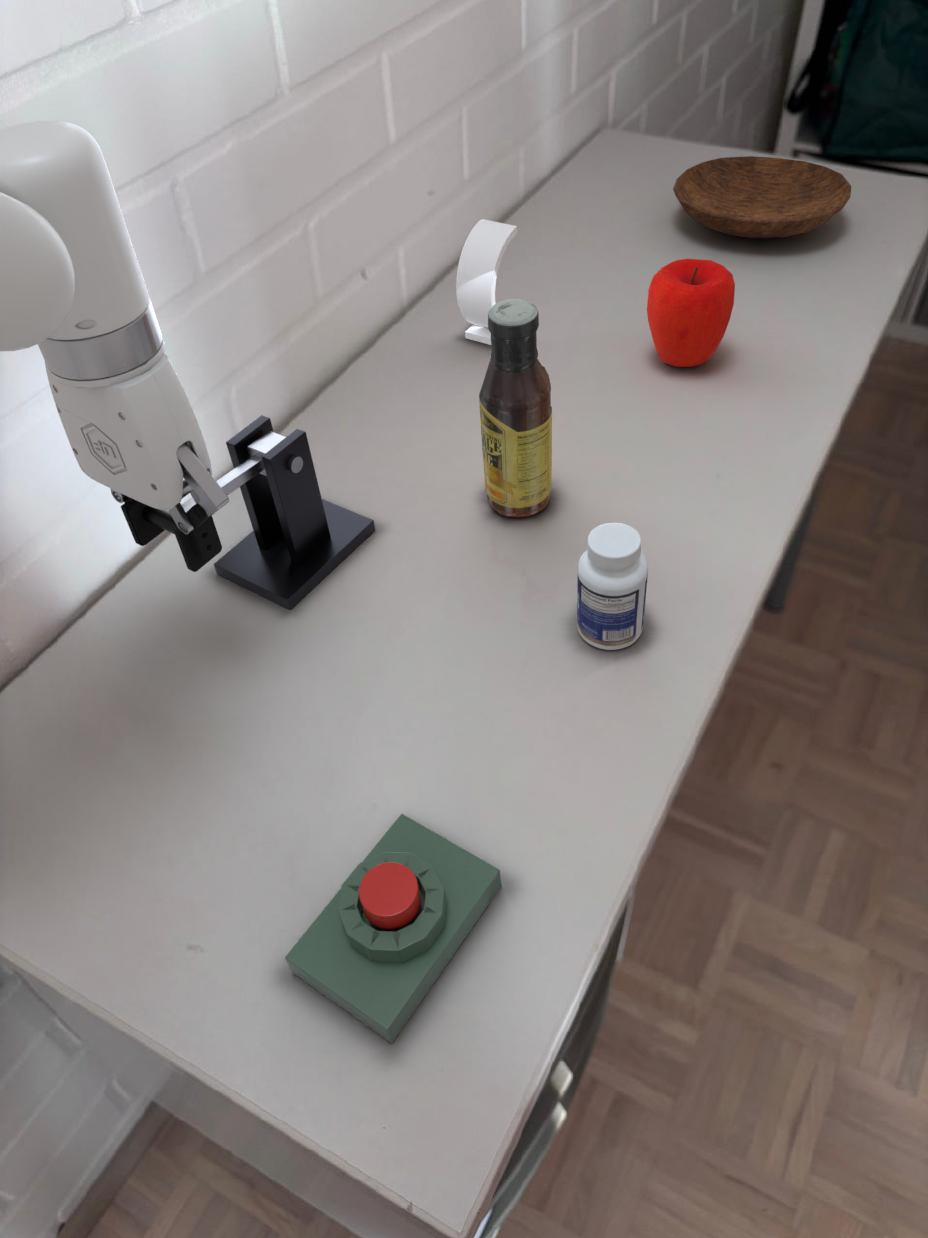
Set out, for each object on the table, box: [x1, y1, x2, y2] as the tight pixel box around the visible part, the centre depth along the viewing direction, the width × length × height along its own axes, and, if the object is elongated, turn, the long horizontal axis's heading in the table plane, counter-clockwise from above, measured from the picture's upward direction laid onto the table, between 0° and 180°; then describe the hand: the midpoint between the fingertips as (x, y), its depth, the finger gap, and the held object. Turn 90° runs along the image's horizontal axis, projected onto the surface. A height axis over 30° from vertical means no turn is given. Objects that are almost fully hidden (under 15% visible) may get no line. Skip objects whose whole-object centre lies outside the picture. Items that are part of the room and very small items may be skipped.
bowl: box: [672, 155, 852, 239], centre depth 123 cm, size 20×22×5 cm
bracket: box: [213, 414, 376, 611], centre depth 82 cm, size 12×9×13 cm
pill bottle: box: [576, 522, 649, 651], centre depth 74 cm, size 5×5×10 cm
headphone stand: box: [455, 218, 518, 346], centre depth 106 cm, size 5×6×12 cm
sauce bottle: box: [478, 298, 553, 518], centre depth 82 cm, size 7×6×20 cm
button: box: [359, 862, 421, 929], centre depth 58 cm, size 4×4×2 cm
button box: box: [284, 813, 502, 1044], centre depth 60 cm, size 12×8×4 cm, turn 146°
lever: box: [143, 431, 287, 535], centre depth 76 cm, size 13×5×2 cm, turn 146°
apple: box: [646, 258, 736, 368], centre depth 100 cm, size 9×9×11 cm
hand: (179, 545), depth 74 cm, fingers closed on lever, 5 cm apart
